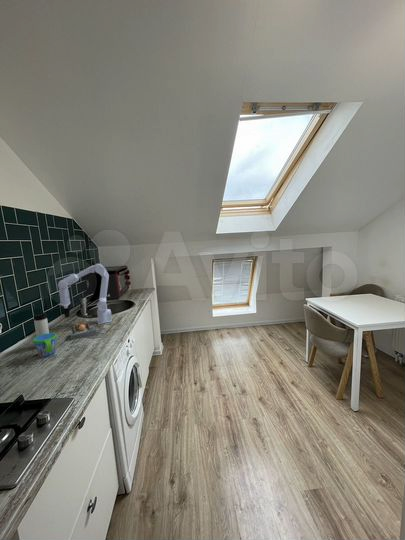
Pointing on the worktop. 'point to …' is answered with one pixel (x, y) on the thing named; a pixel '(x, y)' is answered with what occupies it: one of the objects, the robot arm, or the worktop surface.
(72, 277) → the robot arm
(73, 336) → the tray
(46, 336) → the snack cup
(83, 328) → the ball
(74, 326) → the rails
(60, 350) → the worktop surface
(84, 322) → the brown square block
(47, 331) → the travel mug
